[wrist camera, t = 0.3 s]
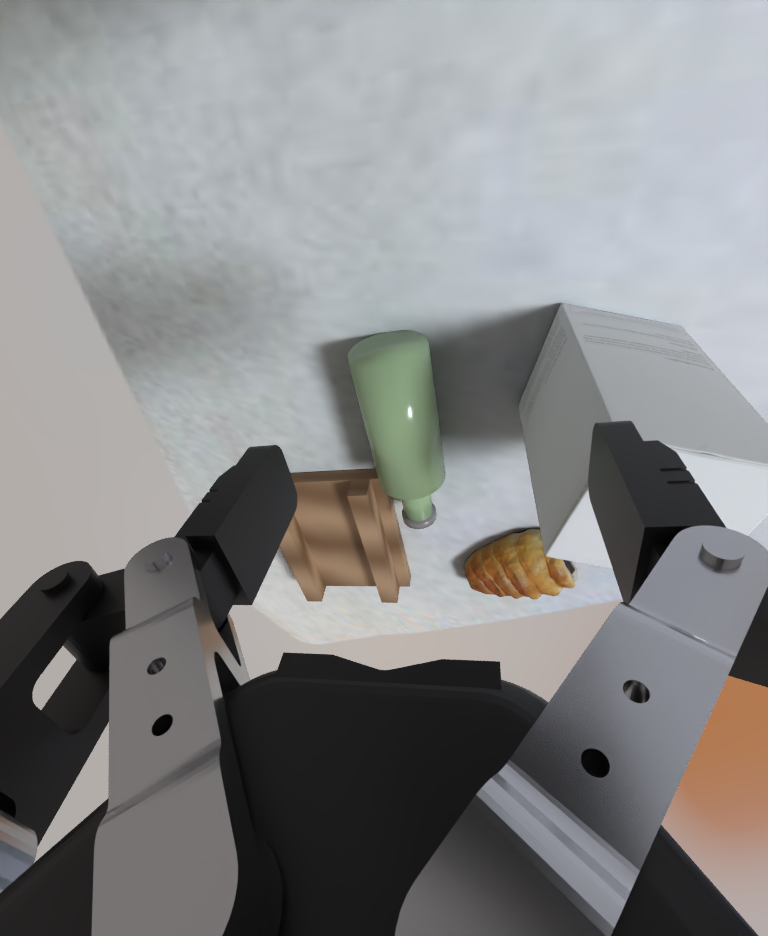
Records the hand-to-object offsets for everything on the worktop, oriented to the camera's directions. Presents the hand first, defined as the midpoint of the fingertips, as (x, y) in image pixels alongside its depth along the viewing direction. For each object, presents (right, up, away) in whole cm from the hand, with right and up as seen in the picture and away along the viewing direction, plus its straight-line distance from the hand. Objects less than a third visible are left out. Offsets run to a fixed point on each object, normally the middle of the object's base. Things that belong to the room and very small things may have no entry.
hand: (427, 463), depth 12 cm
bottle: (+1, +3, +21) cm, 21 cm away
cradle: (-5, -6, +29) cm, 30 cm away
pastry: (+11, -8, +28) cm, 32 cm away
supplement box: (+12, +6, +16) cm, 21 cm away
